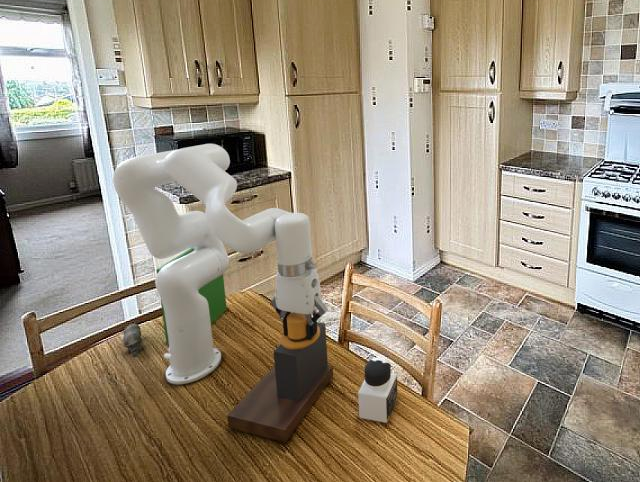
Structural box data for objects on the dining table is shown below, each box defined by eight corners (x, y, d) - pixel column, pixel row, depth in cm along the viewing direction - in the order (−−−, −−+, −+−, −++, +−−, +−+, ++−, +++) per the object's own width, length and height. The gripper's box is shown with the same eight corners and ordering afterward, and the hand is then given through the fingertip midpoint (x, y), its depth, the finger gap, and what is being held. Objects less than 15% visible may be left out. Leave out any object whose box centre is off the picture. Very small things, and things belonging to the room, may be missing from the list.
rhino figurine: (125, 367, 103) (122, 347, 102) (124, 341, 113) (121, 323, 112) (145, 359, 105) (142, 340, 104) (141, 335, 115) (139, 318, 114)
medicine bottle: (387, 424, 85) (386, 378, 83) (358, 418, 87) (356, 373, 85) (398, 398, 92) (397, 355, 90) (371, 393, 94) (369, 351, 92)
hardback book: (205, 308, 129) (198, 243, 125) (226, 308, 129) (219, 243, 125) (166, 343, 112) (156, 269, 108) (190, 343, 112) (181, 269, 108)
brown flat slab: (228, 430, 84) (226, 415, 83) (284, 368, 102) (283, 355, 101) (286, 445, 80) (284, 429, 80) (333, 378, 98) (332, 365, 98)
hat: (272, 345, 88) (270, 324, 87) (296, 322, 97) (295, 302, 96) (305, 352, 86) (304, 330, 85) (327, 327, 94) (326, 307, 93)
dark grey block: (276, 396, 88) (272, 351, 86) (307, 360, 100) (304, 319, 98) (299, 401, 87) (295, 355, 85) (327, 364, 98) (325, 323, 96)
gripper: (336, 262, 90) (340, 330, 93) (275, 254, 94) (280, 319, 97) (318, 277, 82) (323, 350, 85) (253, 268, 87) (259, 338, 89)
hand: (300, 333), depth 91 cm, fingers closed on hat, 5 cm apart
